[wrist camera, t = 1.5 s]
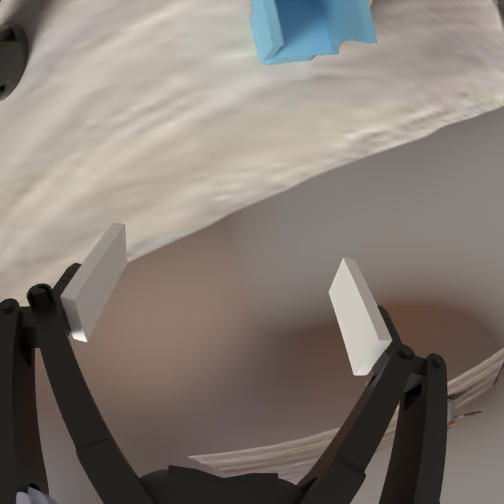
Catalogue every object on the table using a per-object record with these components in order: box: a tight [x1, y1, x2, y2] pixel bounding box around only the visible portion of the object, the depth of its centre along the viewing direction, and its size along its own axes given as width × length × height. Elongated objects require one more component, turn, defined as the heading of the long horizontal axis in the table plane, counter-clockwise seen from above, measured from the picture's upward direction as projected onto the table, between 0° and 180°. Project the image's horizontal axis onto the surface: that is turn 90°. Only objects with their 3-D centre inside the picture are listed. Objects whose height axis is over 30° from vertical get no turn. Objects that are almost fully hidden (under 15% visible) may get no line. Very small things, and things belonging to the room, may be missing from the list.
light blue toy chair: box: [249, 0, 377, 65], centre depth 22 cm, size 8×8×20 cm
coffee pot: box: [447, 398, 482, 430], centre depth 83 cm, size 21×12×15 cm, turn 130°
